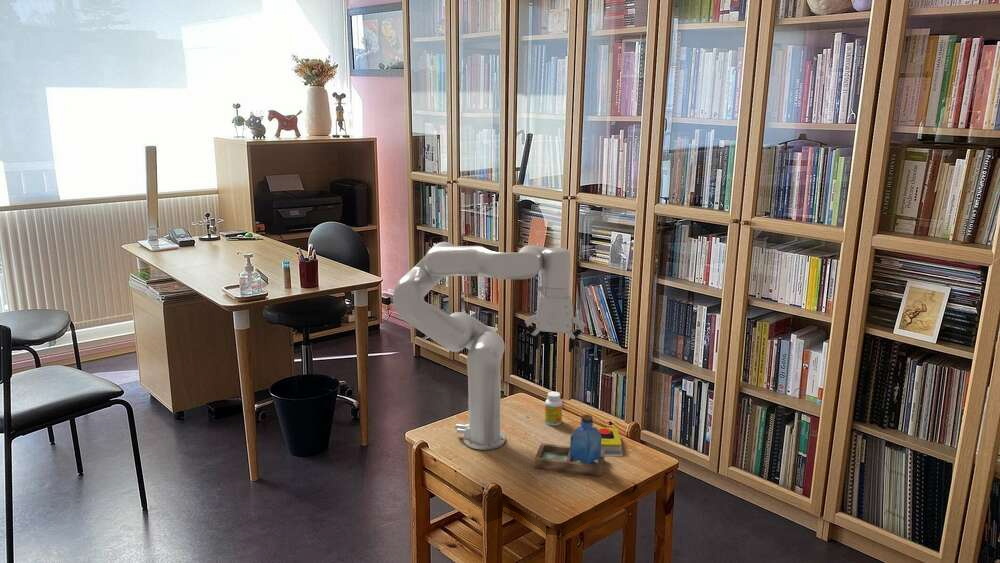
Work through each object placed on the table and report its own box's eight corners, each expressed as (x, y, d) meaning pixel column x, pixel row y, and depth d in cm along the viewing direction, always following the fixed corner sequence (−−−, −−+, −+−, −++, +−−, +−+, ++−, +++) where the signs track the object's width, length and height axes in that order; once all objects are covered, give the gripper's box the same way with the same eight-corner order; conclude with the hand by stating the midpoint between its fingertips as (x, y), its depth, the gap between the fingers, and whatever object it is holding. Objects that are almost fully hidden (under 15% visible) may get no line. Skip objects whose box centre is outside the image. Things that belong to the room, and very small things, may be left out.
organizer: (534, 468, 201) (534, 459, 200) (540, 452, 210) (541, 442, 210) (600, 477, 197) (601, 467, 196) (604, 459, 206) (604, 450, 205)
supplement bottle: (544, 425, 228) (545, 397, 225) (544, 418, 233) (545, 390, 230) (561, 426, 227) (562, 397, 225) (561, 418, 233) (562, 390, 230)
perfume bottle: (582, 449, 206) (583, 410, 203) (600, 455, 202) (602, 416, 199) (569, 457, 201) (571, 417, 198) (588, 464, 197) (590, 423, 195)
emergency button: (617, 421, 222) (624, 444, 207) (616, 434, 223) (623, 458, 208) (586, 421, 222) (591, 443, 207) (586, 434, 223) (591, 457, 209)
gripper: (522, 292, 201) (521, 350, 205) (584, 297, 197) (582, 356, 202) (528, 286, 208) (527, 342, 213) (588, 290, 204) (585, 347, 209)
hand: (553, 349), depth 207 cm, fingers open, 9 cm apart
